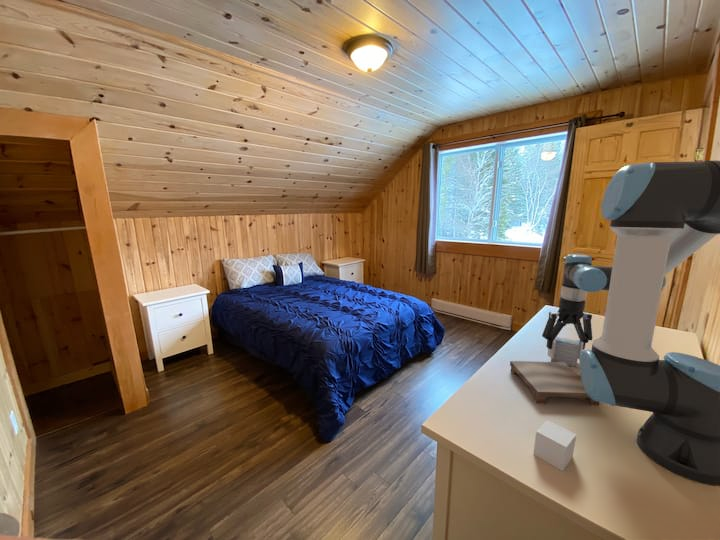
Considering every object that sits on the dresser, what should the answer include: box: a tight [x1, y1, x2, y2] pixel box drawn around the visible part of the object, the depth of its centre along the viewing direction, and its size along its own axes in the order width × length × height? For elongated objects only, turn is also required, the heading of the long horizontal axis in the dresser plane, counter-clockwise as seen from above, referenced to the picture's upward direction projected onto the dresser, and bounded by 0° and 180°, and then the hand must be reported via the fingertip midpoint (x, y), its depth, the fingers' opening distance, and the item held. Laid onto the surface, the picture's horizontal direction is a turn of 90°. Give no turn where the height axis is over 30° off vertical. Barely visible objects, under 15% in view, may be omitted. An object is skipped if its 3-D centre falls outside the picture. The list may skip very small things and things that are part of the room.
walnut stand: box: [509, 360, 600, 406], centre depth 96 cm, size 18×18×4 cm
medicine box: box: [550, 336, 580, 368], centre depth 112 cm, size 8×4×9 cm, turn 58°
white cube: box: [533, 420, 577, 472], centre depth 69 cm, size 6×6×6 cm
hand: (564, 357), depth 112 cm, fingers open, 9 cm apart
